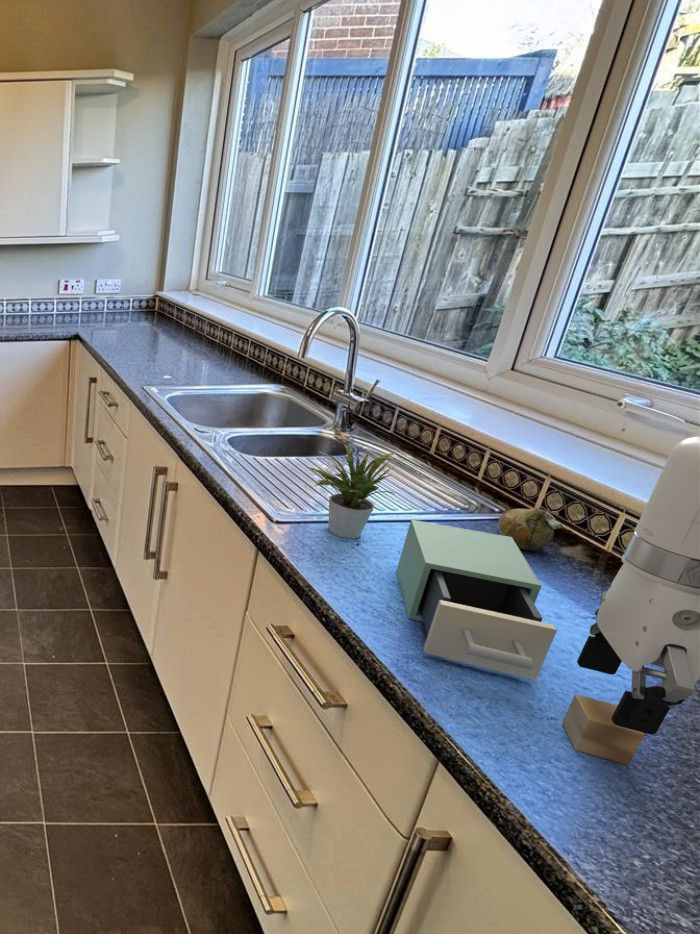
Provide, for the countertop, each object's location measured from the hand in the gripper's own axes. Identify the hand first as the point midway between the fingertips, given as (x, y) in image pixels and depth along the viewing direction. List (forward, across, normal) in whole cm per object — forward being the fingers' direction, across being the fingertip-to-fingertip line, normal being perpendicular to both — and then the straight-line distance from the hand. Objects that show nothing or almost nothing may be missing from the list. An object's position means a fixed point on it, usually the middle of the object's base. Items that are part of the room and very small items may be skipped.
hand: (612, 696), depth 67 cm
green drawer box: (+7, +25, +8) cm, 27 cm away
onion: (+6, +52, -6) cm, 53 cm away
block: (+7, 0, 0) cm, 7 cm away
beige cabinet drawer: (+6, +13, +9) cm, 16 cm away
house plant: (+7, +45, +22) cm, 51 cm away
